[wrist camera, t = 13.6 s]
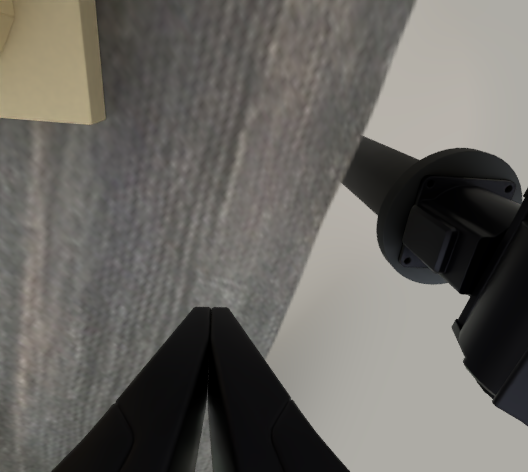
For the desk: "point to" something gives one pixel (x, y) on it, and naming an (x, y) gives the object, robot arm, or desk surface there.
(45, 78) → the button box
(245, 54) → the desk surface
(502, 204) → the robot arm
